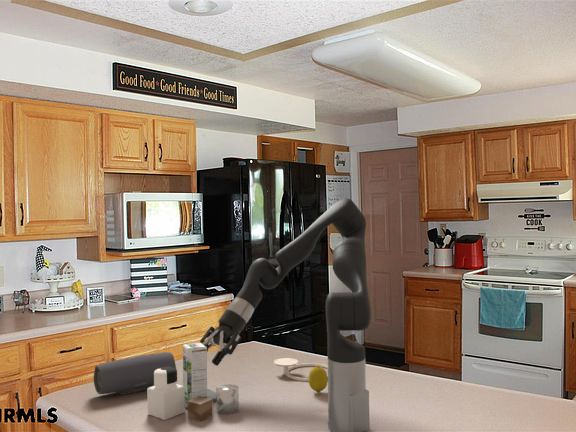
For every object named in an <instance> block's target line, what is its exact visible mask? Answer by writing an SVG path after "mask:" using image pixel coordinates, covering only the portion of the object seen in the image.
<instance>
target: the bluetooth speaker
mask: <svg viewBox="0 0 576 432" xmlns="http://www.w3.org/2000/svg"><path fill="white" fill-rule="evenodd" d="M162 367H173V368H175V369H176V370H177V366H176V360H175V358H174V354H173V353H172V352H169V351H168V352H156V353H150V354H145V355H137V356H132V357H126V358H122V359H118V360H113V361H108V362H104V363H101V364H98V365H95V366H94V370H93V372H94V373H93V385H94V390H95V392H96V393H97V394H98V395H107V394H114V393H118V394H119V395H125V394H126V395H127V394H130V393H131V394H132V393H136V392H140V391H145V390H147V388H149V387H152V386H155V385H154V371H155V370H157V369H159V368H162Z"/></svg>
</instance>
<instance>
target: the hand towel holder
mask: <svg viewBox="0 0 576 432" xmlns="http://www.w3.org/2000/svg"><path fill="white" fill-rule="evenodd" d="M273 363H274V364H275V365H276V366H277V367H283V372H282V373H283V375H284V376H285V377H287V378H288V379H289V380H290V379H291V380H294V381H297V382H308V383H309V377H307V378H306V377H299V376H295V375H291V374H290V371H291V370H294V369H297V368H306V367H308V368H309V367H313V368H314V367H316V366H320V367H322V368H323V369H327V370H328V364H324V363H323V364H322V363H313V362H312V363H308V362H307V363H300V362H299V360H298V359H296V358H291V357H284V358H277V359H274V361H273ZM327 378H328V375H327Z"/></svg>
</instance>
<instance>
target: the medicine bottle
mask: <svg viewBox="0 0 576 432" xmlns="http://www.w3.org/2000/svg"><path fill="white" fill-rule="evenodd" d="M146 393H147V396H146V398H147V414H148V415H149V416H152V417H153V418H157V419H160V420H162V421H166V420H168V419H171V418H173V417H176V416H178V415H181V414H183V413H185V412H186V409H185V387H184V386H183V384H182V385H181V384H178V370H177V368H176V369H175V368H173V367H162V368H159V369H157V370H155V371H154V386H152V387H149V388H147V389H146Z"/></svg>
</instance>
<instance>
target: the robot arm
mask: <svg viewBox="0 0 576 432" xmlns="http://www.w3.org/2000/svg"><path fill="white" fill-rule="evenodd" d="M330 225H332V226H333V227H334V228H335V229H336V231H337V232H338V233H339V234H340V235H341V237H342V238H341V239H342V240H340V241H339V242H338V243H337V244H336V245H335V247H334V248H333V250H332V271H333V273H334V275H335V276H336V277H337V278H338V280H339V281H340V282H341V283H342V284H343V285H344V286H345V287H346V288H348V289H349V290H350V291H349V292H345V291H343V292H341V291H340V292H338V291H337V292H330V293H328V294H327V296H326V299H325V319H326V333H327V336H326V337H327V365H328V369H327V376H328V382H327V395H328V396H327V398H328V399H327V405H328V406H327V407H328V409H327V410H328V411H327V412H328V429H329V430H330V431H331V432H366V431H369V430H370V428H371V427H370V391H369V390H368V389H366V387H367V386H366V385H367V384H366V383H367V382H366V381H367V380H366V378H367V377H366V376H367V375H366V348H365V346H364V345H363V344H361V343H360V342H356V341H354V340H351V339H349V338H347V337H345V336H344V335H342V333H341V332H340V331H342V332H343V331H347V332H348V331H351V332H352V331H356V332H357V331H358V332H359V331H364V330H367V329H368V328H369V326H370V324H371V319H372V313H371V312H372V311H371V303H370V295H369V288H368V283H367V256H366V243H365V239H366V238H365V236H366V229H367V228H366V227H367V221H366V217H365V216H364V214H363V212H362V211H361V210H360V209H359V207H358V206H357V204H355V202H354V201H353V200H352V199H351V198H347V197H346V198H342V199H340V200H338V201H337V202H335V203H334V204H332V205H331V206H330V207H329V208H328V209H326V210H325V212H323V214H321V215H320V216H319V217H318V218H317V219H316V220H315V221H313V222H312V224H311V225H310V226H309V227H308V228H306V229H305V230H304V231H303V232H302V233H301V234H300V235H299V236H298V237H296V238H295V239H294V240H292V241H291V242H289V243H288V244H287V245H285V246H284V247H282V248H281V249H279V250H278V251H277V252H276V254H275V258H276V261H277V263H278V266H277V267H276V268H275V266H274V265H273V264H272V263H271V262H270V261H269V260H268V259H266V258H265V257H260V258H257V259H256V260H254V261H253V262H252V264H250V266H249V269H248V271H247V274H246V277H245V280H244V282H243V285H242V288H241V289H240V291H239V292H238V293H237V294H236V296H235V297H234V299H233V300H232V301H231V302H230V303H229V305H228V306H227V308H226V309H225V311H224V312H223V314H222V315H221V316H220V318H219V319H218V324H219V325H218V326H217V327H216V328H215V327H214V326H210V327H209V328H208V330H207V331H206V332H205V333H204V335H203V336H202V337H201V339H200V341H199V343H202V344H203V345H204V346H205V347H207V352H209V349H211V348H213V347H216V346H219V350H218V351H217V353H216V354H215V356H214V357H213V359H212V360H211V363H212V364H213V365H214V366H217V367H218V366H219V365H220V363H221V362H222V361H223V359H224V358H225V356H228V355H230V356H231V355H232V354H233V353H234V352H235V350H236V348H237V347H238V345H239V344H240V342H241V340H242V337H241V336H240V334H241V332H242V331H243V330H244V328H245V326H246V325H247V324H248V322H249V320H250V319H251V318H252V315H253V314H254V312H255V310H256V308H257V307H258V305H259V304H260V302H261V301H262V299H263V293H262V290H261V289H260V286H261V287H262V288H263V289H265V290H272V289H275V288H276V287H277V286H279V285H280V284H281V282H282V281H283V279H284V278H285V277H286V276H287V275H288V274H289V272H290V271H292V269H294V268H295V267H297V266H299V264H301V263H302V262H303V261H305V260H307V259H308V258H309V256H310V255H311V254H312V253H313V251H314V249H315V246H316V245H317V242H318V240H319V238H320V236H321V234H322V233H323V232H324V230H325V229H327V228H328V227H329V226H330Z"/></svg>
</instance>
